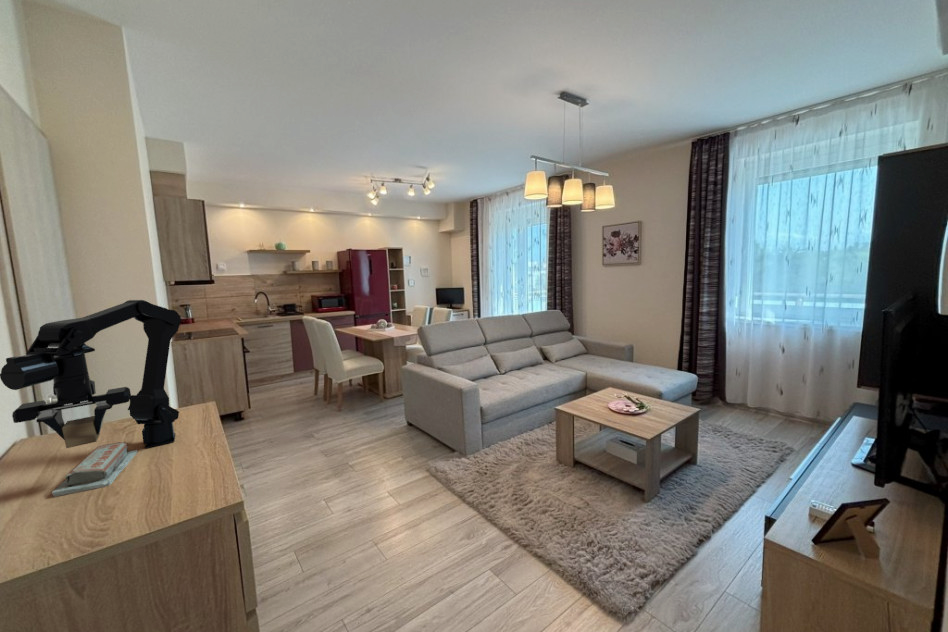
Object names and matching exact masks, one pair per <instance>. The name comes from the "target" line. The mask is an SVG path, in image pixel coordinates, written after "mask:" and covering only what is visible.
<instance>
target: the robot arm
mask: <svg viewBox="0 0 948 632" xmlns="http://www.w3.org/2000/svg"><path fill="white" fill-rule="evenodd" d="M131 319H135V320H136V321H138V322H141V323H142V324H143V325H142V327H143V331H144V333H145V334H146V337H147V338H148V340H147V347H146V356H145V361H144V362H145V363H144V369H143V375H142V384H141V389H140V390H139V391H138V392H137V394H135V395H134V394H133V395H132V394H131V389H130V388H129V387H127V386H123V387H117V388H111V389H108V390H106V393H104V394H97V395H95V394H96V393H97V392H96V391H97V390H96V384H95V380H91V378H90V375H89V370H88V364H87V358H86V354H88V353H93V352H95V350H96V348H94V347H92V346H89V345H88V344H86V343H87V342H89V341H91V340H92V339H94V337H95V336H96V334H98V333H100V332H101V331H104V330H106V329H108V328H111V327H114V326H116V325H118V324H121V323H124V322H126V321H129V320H131ZM181 319H182V317H181V315H180V314H179V313H178V311H176V310H175V309H169V308H166V307H163V306H160V305H156V304H154V303H151V302H149V301H148V300H147V301H146V300H143V299H130V300H126V301H125V302H122V303H120V304H117V305H115V306H112V307H108V308H106V309H104V310H100V311H98V312H94V313H91V314H89V315H86V316H82V317H78V318H69V319H62V320H56V321H51V322H46V323H45V324H43V325H41V326H40V327H39V330H38V333H37V336H36V338H35V339H34V340H33V342H32V343H31V345H30V346H29V349H28V350H27V352H26V353H25V355H21V356H11V357H7V358H5V362H6V364H4V365H3V366H2V367H1V369H0V370H1V371H0V381H1V383H2V384H3V385H4V387H6V388H8V389H9V390H11V391H12V390H13V391H18V390H22V389H24V388H28V387H33V386H37V385H39V384H43V383H47V382H51V381H53V395H54V396H56V400H57V401H56V402H50V403H47V402H46V401H45V400H39V401H31V402H25V403H22V404H20V405H19V406H18V407H17V408H15V410H13V412H12V415H11V417H12V420H13V423H14V424H17V423H23V422H29V421H35V420H36V423H44V424H45V425H46V426H47V427H49V428H50V429H53V431H54V432H55V433H57V434H58V436H59V437H61V439H62V440H64V435H63V430H62V428H63V426H64V425H65V424H66V423H65V421H64V419H63V412H62V411H63V410H68V409H72V408H78V407H84V406H89V405H96V407H95V408H94V411H93V414H94V415H93V416H95V430H96V433H97V434H99V433H100V434H101V429H102V426H103V421H104V417H105V415H106V412H107V410H111V409H112V408H113V406H116V405H121V404H127V403H128V402H129V406H128V408H127V411H129V415H130V417H131V418H132V419H133V420H134V421H135V422H136V424H137V425H143V427H142V430H141V435H142V441H143V442H142V443H143V445H145V449H148V448H152V447H153V448H154V447H157V446H162V445H166V444H170V443H174V442H175V441H176V440H175V439H176V432H175V429H174V422H175V421H176V420H178V419H179V416H180V415H179V414H180V410H177V409H175V408H173V407H171V406H170V397H169V395H168V393H167V392H166V390H165V382H166V375H167V370H168V369H167V367H168V360H169V354H170V346H171V340H172V339H173V338H174V337H175V335H176V334H177V333H178V331H179V329H180V325H181V321H182V320H181Z"/></svg>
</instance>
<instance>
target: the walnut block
mask: <svg viewBox="0 0 948 632" xmlns="http://www.w3.org/2000/svg"><path fill="white" fill-rule="evenodd" d="M64 424H65V425H64V426H63V428H62V430H63V435H64V439H63V441H64V444H65V449H71V448H74V447H75V448H76V447H78V446H83V445H87V444H91V443H97V441H98V439H99V437H100V435H101V432H100V433H99V434H97V433H96V430H95V415H93V416H86V417H82V418H76V419H71V420H67V421H66V422H65V423H64Z"/></svg>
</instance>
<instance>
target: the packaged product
mask: <svg viewBox="0 0 948 632" xmlns="http://www.w3.org/2000/svg"><path fill="white" fill-rule="evenodd" d="M137 452H138V450H137V449H135V450H129V451H128V444H127V442H121V441H118V442H112V443H107V444H102V445H98V446H96V447H95V448H94V449H93V450H92V451H91V452H89V453H88V455H86V456H85V457H84V459H82V460H81V461H80V462H79V463H78V464H76V465H75V466H74V468H72V470H70V471H69V472H68V473H67V474H66V476H65V480H64V481H62V482H61V483H60V484H59V485H58V486H57V487H56V488H55V489H54V490H53V491H52V492H51V494H52V495H53V497H54V498H55V497H60V496H65V495H66V496H67V495H70V494H77V493H81V492H85V491H90V490H93V489H94V490H95V489H99V488H105V487H109V486H111V485H112V483H113V482H114V481H115V480H116V478H117V477H118V476H119V475H120V474H121V473H122V472H123V470H124V469H125V468H126V467H127V466H128V465H129V463H130V462H131V461H132V460H133V458H134V457H135V456H136V454H137Z"/></svg>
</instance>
